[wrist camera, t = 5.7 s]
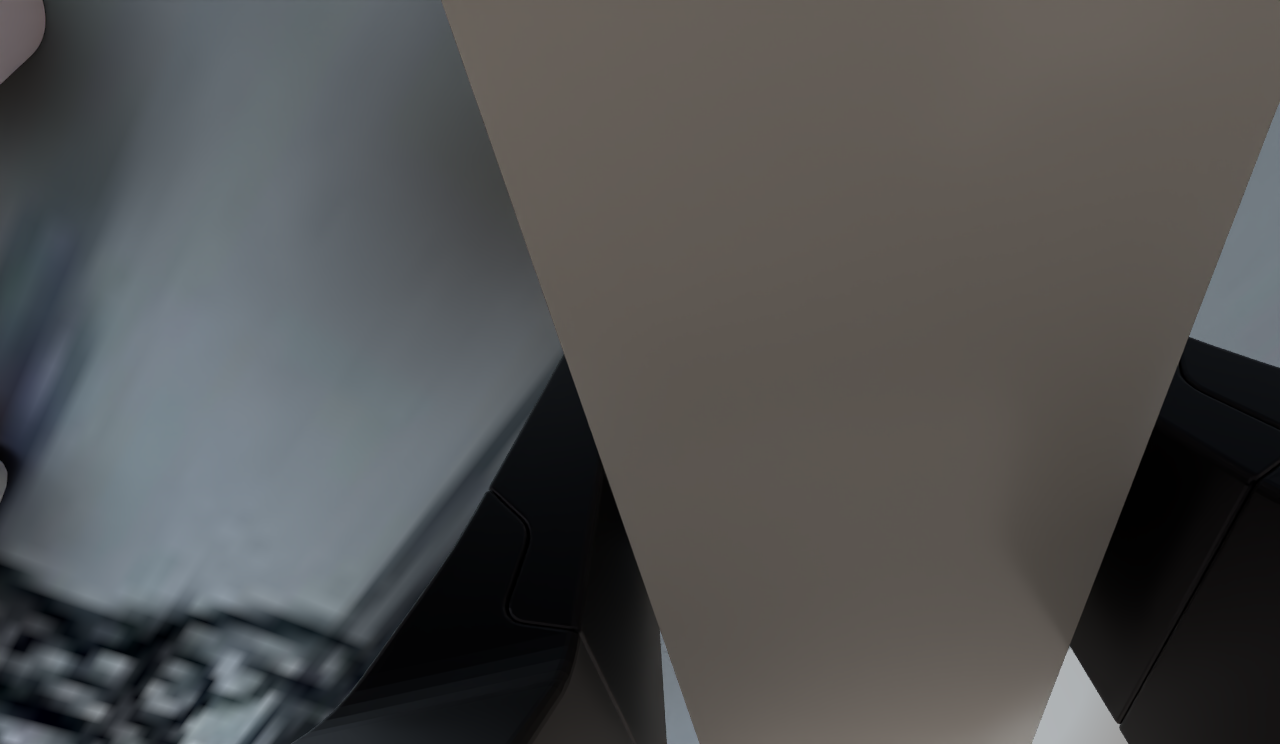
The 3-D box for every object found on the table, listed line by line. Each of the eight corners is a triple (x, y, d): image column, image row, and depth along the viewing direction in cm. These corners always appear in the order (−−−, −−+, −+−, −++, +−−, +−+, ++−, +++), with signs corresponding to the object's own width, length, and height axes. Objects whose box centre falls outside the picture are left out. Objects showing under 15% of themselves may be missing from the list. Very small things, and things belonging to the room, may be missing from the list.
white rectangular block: (683, 554, 15) (751, 891, 10) (428, -389, 6) (110, -962, 1) (850, 517, 15) (993, 842, 10) (840, -504, 6) (1897, -1499, 1)
